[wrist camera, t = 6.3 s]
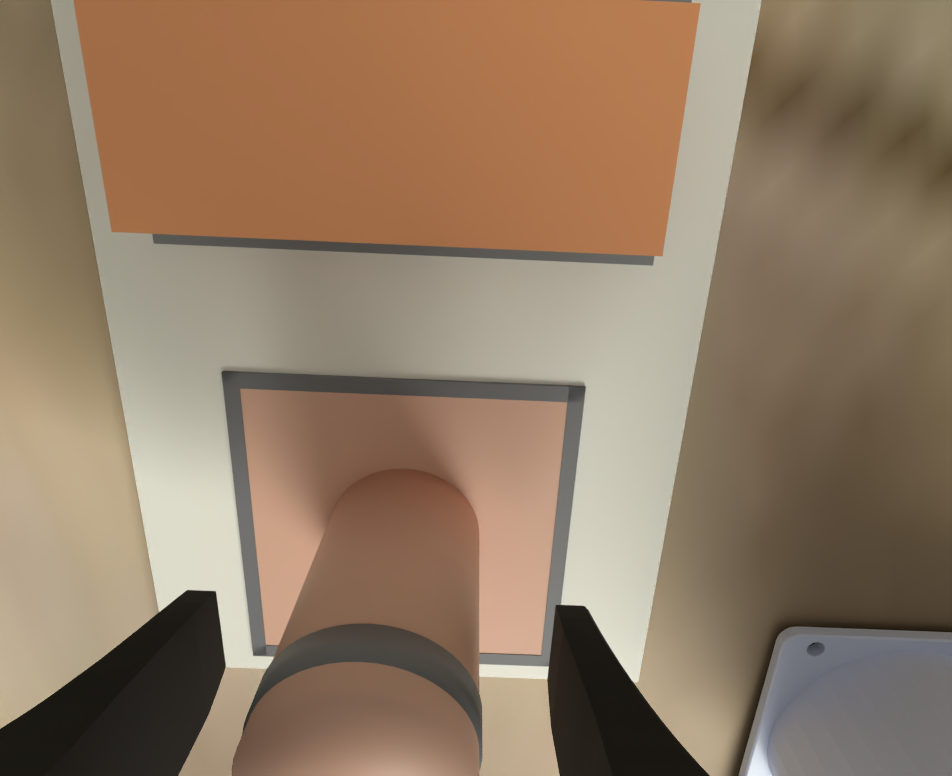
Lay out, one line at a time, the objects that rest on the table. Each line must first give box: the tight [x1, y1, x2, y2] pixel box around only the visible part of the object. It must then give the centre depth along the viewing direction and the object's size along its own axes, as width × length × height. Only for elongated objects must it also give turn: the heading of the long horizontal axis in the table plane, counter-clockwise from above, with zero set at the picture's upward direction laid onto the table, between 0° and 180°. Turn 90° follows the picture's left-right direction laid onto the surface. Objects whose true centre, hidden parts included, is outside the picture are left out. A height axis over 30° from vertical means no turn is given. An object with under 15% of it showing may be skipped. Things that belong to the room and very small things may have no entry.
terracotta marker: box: [232, 469, 482, 776], centre depth 13 cm, size 4×4×7 cm
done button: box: [73, 0, 701, 256], centre depth 11 cm, size 10×4×2 cm, turn 88°
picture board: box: [51, 0, 762, 682], centre depth 15 cm, size 14×20×1 cm
